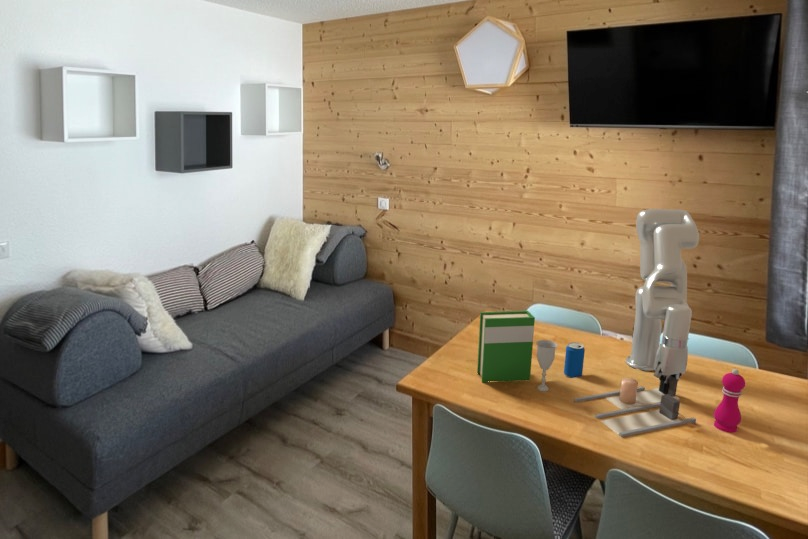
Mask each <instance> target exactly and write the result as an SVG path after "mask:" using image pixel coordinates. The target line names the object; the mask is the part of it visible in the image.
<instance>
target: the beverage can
mask: <svg viewBox="0 0 808 539" xmlns="http://www.w3.org/2000/svg"><path fill="white" fill-rule="evenodd" d="M585 350H586V349H585V346H584V344H583V343H580V342H573V341H572V342H569V343H567V345H566V347H565V357H564V367H563V374H564V375H565V376H566V377H567V378H569V379H575V378H579V377H582V376H583V372H584V371H583V370H584V360H585V352H586V351H585Z"/></svg>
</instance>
